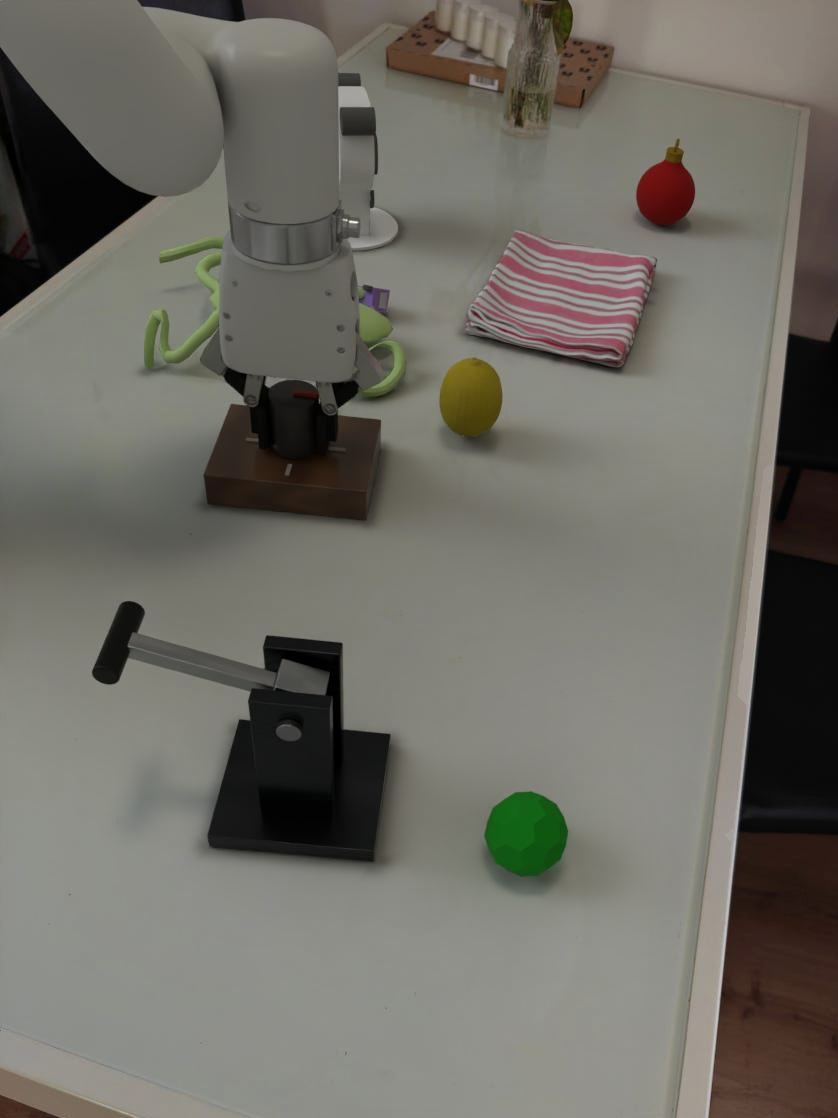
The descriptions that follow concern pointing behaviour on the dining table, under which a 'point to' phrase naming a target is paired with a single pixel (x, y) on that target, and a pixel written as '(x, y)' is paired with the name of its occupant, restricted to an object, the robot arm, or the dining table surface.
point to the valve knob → (293, 419)
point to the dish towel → (564, 299)
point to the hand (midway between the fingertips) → (295, 440)
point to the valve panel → (294, 470)
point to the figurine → (369, 303)
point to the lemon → (470, 397)
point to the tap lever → (194, 660)
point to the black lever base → (301, 768)
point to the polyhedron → (526, 833)
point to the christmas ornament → (666, 189)
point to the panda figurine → (360, 165)
